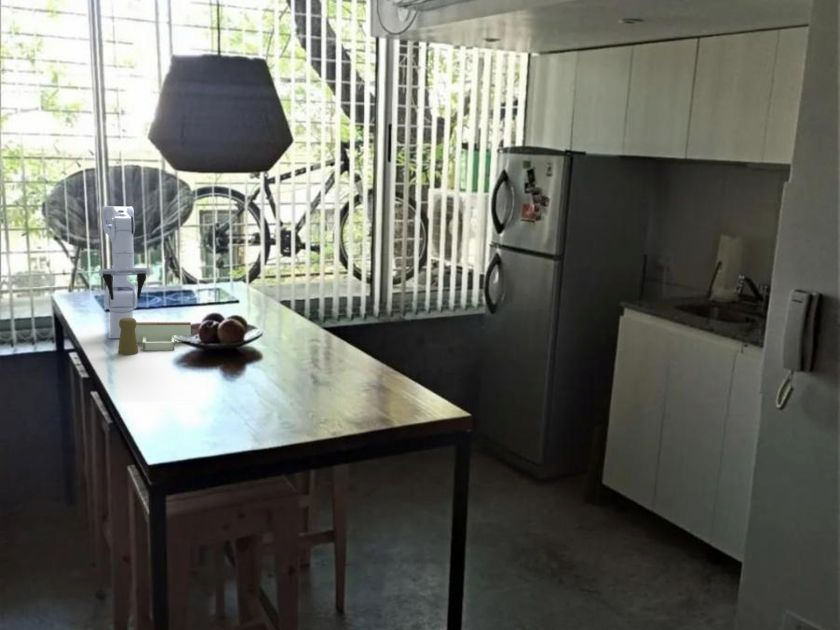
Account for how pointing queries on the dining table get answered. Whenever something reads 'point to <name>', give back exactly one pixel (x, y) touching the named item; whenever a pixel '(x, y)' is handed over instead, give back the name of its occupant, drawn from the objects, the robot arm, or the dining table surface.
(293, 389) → the dining table surface
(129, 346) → the cork
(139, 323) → the stand
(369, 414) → the dining table surface
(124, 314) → the robot arm
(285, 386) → the dining table surface
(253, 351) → the dining table surface
